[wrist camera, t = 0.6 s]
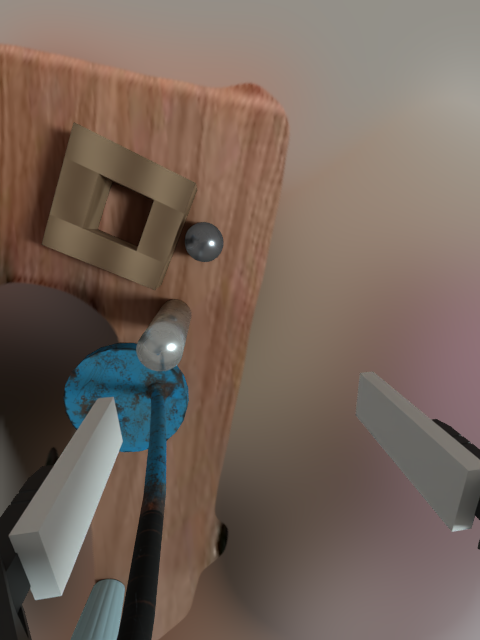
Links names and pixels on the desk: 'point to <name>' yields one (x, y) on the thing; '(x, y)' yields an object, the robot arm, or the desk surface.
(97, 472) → the robot arm
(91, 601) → the cup
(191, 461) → the desk surface
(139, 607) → the desk lamp
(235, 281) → the desk surface
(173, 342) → the tall pin
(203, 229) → the stub pin
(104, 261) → the tan square frame
